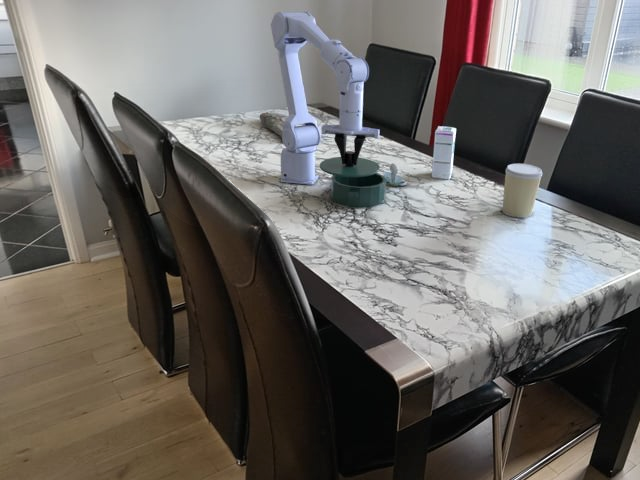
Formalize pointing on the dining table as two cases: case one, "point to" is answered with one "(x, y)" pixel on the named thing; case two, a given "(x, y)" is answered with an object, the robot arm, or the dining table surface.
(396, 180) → the pacifier
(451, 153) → the syrup box
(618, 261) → the dining table surface
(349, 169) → the lid
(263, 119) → the elongated rock
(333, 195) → the pot
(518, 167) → the coffee cup
